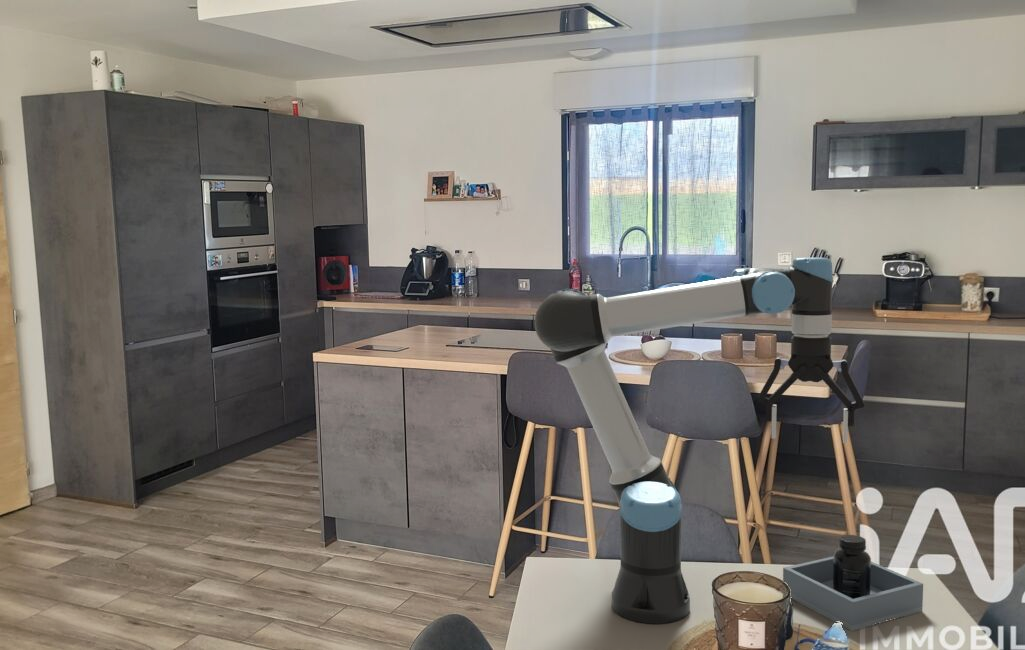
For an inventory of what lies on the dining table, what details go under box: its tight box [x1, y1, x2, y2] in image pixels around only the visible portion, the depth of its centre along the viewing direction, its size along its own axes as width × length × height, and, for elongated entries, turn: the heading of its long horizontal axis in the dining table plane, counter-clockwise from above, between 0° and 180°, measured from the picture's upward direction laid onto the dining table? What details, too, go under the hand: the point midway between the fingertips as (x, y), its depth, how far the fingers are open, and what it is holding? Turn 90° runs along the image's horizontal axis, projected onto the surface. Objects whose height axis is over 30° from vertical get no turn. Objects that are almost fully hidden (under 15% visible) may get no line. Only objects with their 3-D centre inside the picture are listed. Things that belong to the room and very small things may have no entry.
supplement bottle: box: [833, 534, 872, 599], centre depth 167 cm, size 7×7×12 cm
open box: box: [782, 555, 924, 632], centre depth 167 cm, size 18×18×6 cm
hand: (808, 439), depth 172 cm, fingers open, 13 cm apart
